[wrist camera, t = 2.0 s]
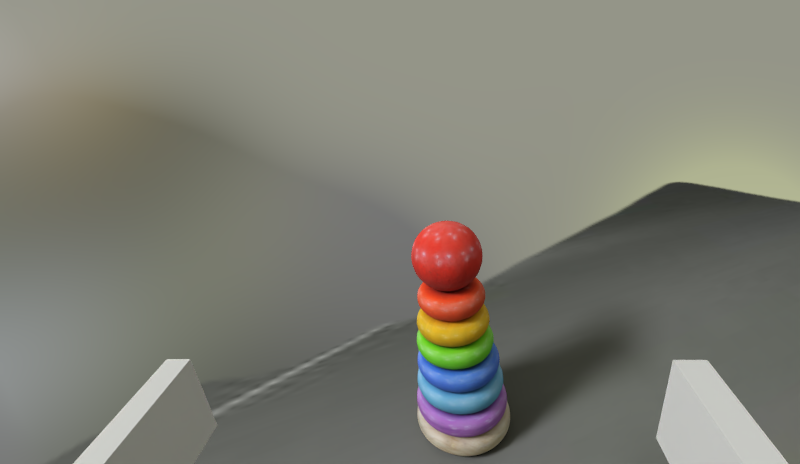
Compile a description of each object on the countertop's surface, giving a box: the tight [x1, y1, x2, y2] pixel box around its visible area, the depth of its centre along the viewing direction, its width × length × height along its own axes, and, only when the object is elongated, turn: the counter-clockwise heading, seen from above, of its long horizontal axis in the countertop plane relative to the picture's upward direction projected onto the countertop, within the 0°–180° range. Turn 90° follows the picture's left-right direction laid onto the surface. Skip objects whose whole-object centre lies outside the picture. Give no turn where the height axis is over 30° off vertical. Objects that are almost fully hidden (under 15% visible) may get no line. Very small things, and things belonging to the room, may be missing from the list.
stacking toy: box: [412, 221, 510, 456], centre depth 32 cm, size 8×8×19 cm
